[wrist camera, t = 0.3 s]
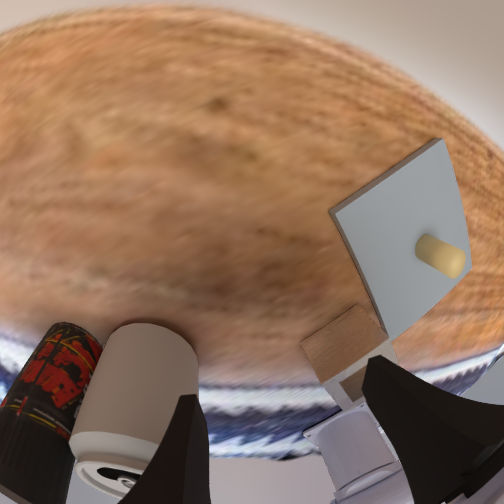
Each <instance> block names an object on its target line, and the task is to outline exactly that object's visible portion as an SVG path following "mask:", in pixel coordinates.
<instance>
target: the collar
mask: <svg viewBox="0 0 504 504" xmlns="http://www.w3.org/2000/svg"><path fill="white" fill-rule="evenodd" d="M300 343H301V345H302V347H303V349H304V351H305V353H306V355H307V357H308V359H309V361H310V363H311V365H312V367H313V369H314V371H315V373H316V375H317V377H318V379H319V381H320V383H321V385H322V386H323V387H324V388H325V389H326V391H327V392H328V393H329V394H330V395H331V397H332V398H333V399H334V400H335V401H336V403H337V404H338V405H339V406H340V407H341V409H342V410H343V411H344V412H345V413H348V412H350V411H351V410H353V409H354V408H356V407H358V406H359V405H361V404H362V403H364V402H365V401H366V399H365V397H364V395H363V392H362V390H361V388H362V384H363V380H364V376H365V372H366V367H367V363H368V358H371V357H374V356H377V355H382V356H384V357H385V358H387V359H389V360H390V361H392V362H393V363H395V364H397V365H398V366H399V363H398V360H397V357H396V354H395V351H394V349H393V346H392V343H391V340H390V338H389V337H388V335H387V334H386V333H385V332H384V331H383V330H382V329H381V328H380V327H379V326H378V325H377V324H376V323H375V322H374V321H373V319H372V318H371V317H370V316H369V315H368V314H367V313H366V312H365V311H364V310H363V309H362V308H361V307H360V306H359V305H358V304H356V305H355V306H353V307H352V308H351V309H349V310H348V311H346V312H345V313H344V314H342V315H341V316H339V317H338V318H336V319H335V320H333V321H332V322H330V323H329V324H327V325H326V326H324V327H323V328H321V329H320V330H318V331H317V332H315V333H314V334H312V335H311V336H309V337H308V338H306V339H304V340H303V341H301V342H300Z"/></svg>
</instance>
